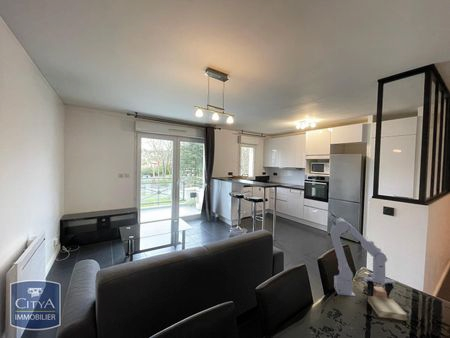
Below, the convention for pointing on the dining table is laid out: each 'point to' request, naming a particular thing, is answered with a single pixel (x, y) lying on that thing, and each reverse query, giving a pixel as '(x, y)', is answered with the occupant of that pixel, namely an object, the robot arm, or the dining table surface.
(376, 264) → the robot arm
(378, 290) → the terracotta cube
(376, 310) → the birch base
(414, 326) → the dining table surface
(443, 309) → the dining table surface
